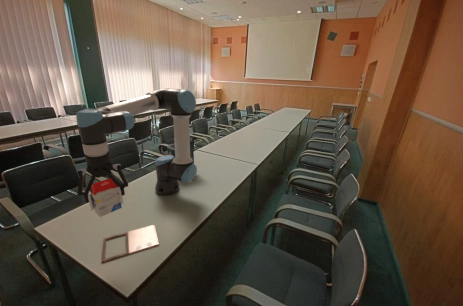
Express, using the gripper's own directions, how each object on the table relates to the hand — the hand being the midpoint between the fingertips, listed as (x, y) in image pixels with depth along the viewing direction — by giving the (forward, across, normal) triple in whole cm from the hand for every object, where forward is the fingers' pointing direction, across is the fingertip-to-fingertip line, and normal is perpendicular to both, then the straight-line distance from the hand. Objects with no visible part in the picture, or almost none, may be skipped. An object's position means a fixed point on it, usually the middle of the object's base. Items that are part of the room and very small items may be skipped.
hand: (107, 205), depth 82 cm
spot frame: (+21, 0, 0) cm, 21 cm away
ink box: (+3, 0, 0) cm, 3 cm away
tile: (+21, -11, 0) cm, 24 cm away
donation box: (+22, -45, -65) cm, 82 cm away
